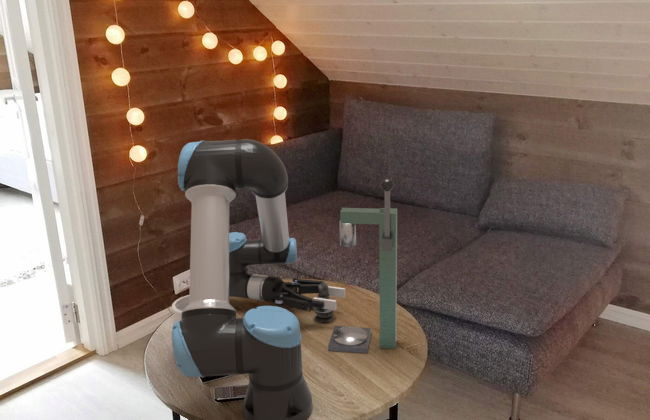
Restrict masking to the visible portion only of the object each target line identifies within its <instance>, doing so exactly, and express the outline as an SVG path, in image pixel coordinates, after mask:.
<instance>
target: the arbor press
mask: <svg viewBox="0 0 650 420" xmlns="http://www.w3.org/2000/svg"><path fill="white" fill-rule="evenodd" d="M394 187H395V184H394V181H393V179H391V178H384V179H383V180H382V181H381V182H380V188H381V189H382V190H383V192H384V207H381V208H373V207H372V208H371V207H369V208H367V207H362V208H361V207H341V210H340V211H339V213H340V218H339V219H340V220H339V245H340V246H341V247H343V248H344V247H345V248H352V247H354V246H356V245H357V226H356V225H379V229H378V232H379V235H378V236H379V242H378V243H379V247H378V248H379V249H378V250H379V257H378V258H379V265H378V266H379V349H391V350H396V346H397V345H396V344H397V315H398V314H397V303H398V302H397V298H398V297H397V292H398V291H397V287H398V285H397V284H398V281H397V280H398V277H397V276H398V275H397V274H398V208H394V207H391V191H392V190H393V188H394ZM371 336H372V327H359V326H353V325H352V326H351V325H350V326H344V325H334V326H333V330H332V333H331V336H330V339H329V342H328V346H327V347H328V350H327V351H329V352H338V353H339V352H342V353H355V354H368V350H369V346H370V340H371Z"/></svg>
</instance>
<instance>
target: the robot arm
mask: <svg viewBox="0 0 650 420" xmlns="http://www.w3.org/2000/svg"><path fill="white" fill-rule="evenodd" d="M177 175H178V176H177V184H178V186H179V189H180V190H181V192H184V195H185V198H186V199H187V200H189V202H190V203H191V213H190V214H191V217H190V219H191V220H190V257H189V294H188V295H189V305H188V306H187V307H186V308H185V309H184V310H183V311H182V317H181V321H177V322H175V323H174V322H173V325H172V331H171V343H172V351H173V356H174V360H175V365H176V368H177V369H178V371H179V372H180V374H181V375H182V376H184V377H187V378H192V377H193V378H194V377H196V378H197V377H198V378H206V377H217V376H218V377H219V376H233V375H234V376H235V375H248V379H249V380H248V381H249V382H248V384H247V387H246V392H245V396H244V399H243V414H244V418H245V419H246V420H307V419H308V418H309V416H310V415H311V414H312V411H313V397H312V392H311V390H310V389H309V388H310V387H309V386H308V384H307V381H306V379H305V376H304V374H303V372H304V371H303V357H302V338H303V337H302V332H301V328H300V327H301V326H300V321H299V319H298V317H297V316H296V314H294V313H293V312H292V311H289V310H288V309H286V308H290V309H294V310H300V311H304V312H307V311H311V312H312V311H314V307H316V308H322V309H329V310H333V311H337V299H330V298H329V299H323V298H318V297H316V296H314V297H313V298H312V297H308V296H305V295H306V294H307V295H308V294H309V295H310V294H319V290H318V286H319V285H320V284H321V283H322V281H323V280H313V279H304V278H303V279H302V278H297V277H293V278H292V281H287V282H286V281H285V282H284V281H283V280H282V278H281V277H279V276H272V275H266V274H257V273H252V272H249V266H262V265H263V266H265V265H268V266H269V265H287V264H294V263H296V262H297V260H298V252H297V251H298V250H297V240H296V238H294V237H290V235H289V234H290V233H289V223H288V221H289V220H288V213H287V202H286V201H287V200H286V199H287V198H286V191H287V189H288V187H289V177H288V172H287V170H286V166H285V164H284V163H283V161H282V160H281V158H280V157H279V156H278V154H277V153H276V152H275V151H274V150H272V148H270V147H269V146H267V145H266V144H265V143H262V142H261V141H258V140H255V139H249V138H242V139H228V140H227V139H225V140H200V141H192V142H191V141H190V142H188V143H186V144H185V145H184V146H183V147H182V149H181V151H180V154H179V156H178V163H177ZM241 189H250V191H251V193H252V194H253V195H254V196H255V202H256V207H257V214H258V220H259V226H260V233H261V239H247V237H246V235H245V233H243V232H237V231H233V232H230V203H231V202H232V201H234V200H235V198H236V196H237V195H236V194H237V190H241ZM328 292H329V294H330V297H336V298H341V299H345V298H346V288H344V287H338V286H329V285H328ZM230 297H231V298H241V299H249V300H254V301H255V300H256V301H257V302H259V301H262V302H266V303H272V304H275V306H274V305H261V306H256V307H255V308H250V309H249V310H247V311H246V313H245V314H244V316H243V317H241V318H240V317H239V318H237V310H236V309H235V308H234V307H233V305H231V304H230ZM283 307H286V308H283Z"/></svg>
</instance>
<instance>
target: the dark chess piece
mask: <svg viewBox="0 0 650 420" xmlns="http://www.w3.org/2000/svg"><path fill="white" fill-rule="evenodd" d="M321 281H322V283H321V284H320V285H319V286H318V290H319V293H317V297H316V298H323V299H330V297H331V296H330V294H329V292H328V286H329V285H328V284H327V283H325V280H321ZM313 311H314V312H315V314H316V316H315V322H317V323H318V324H324V325H325V324H330V323H331V322H333V321H334V318H335V317H334V316H333V313H334V310H329V309H322V308H316V307H313Z"/></svg>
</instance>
